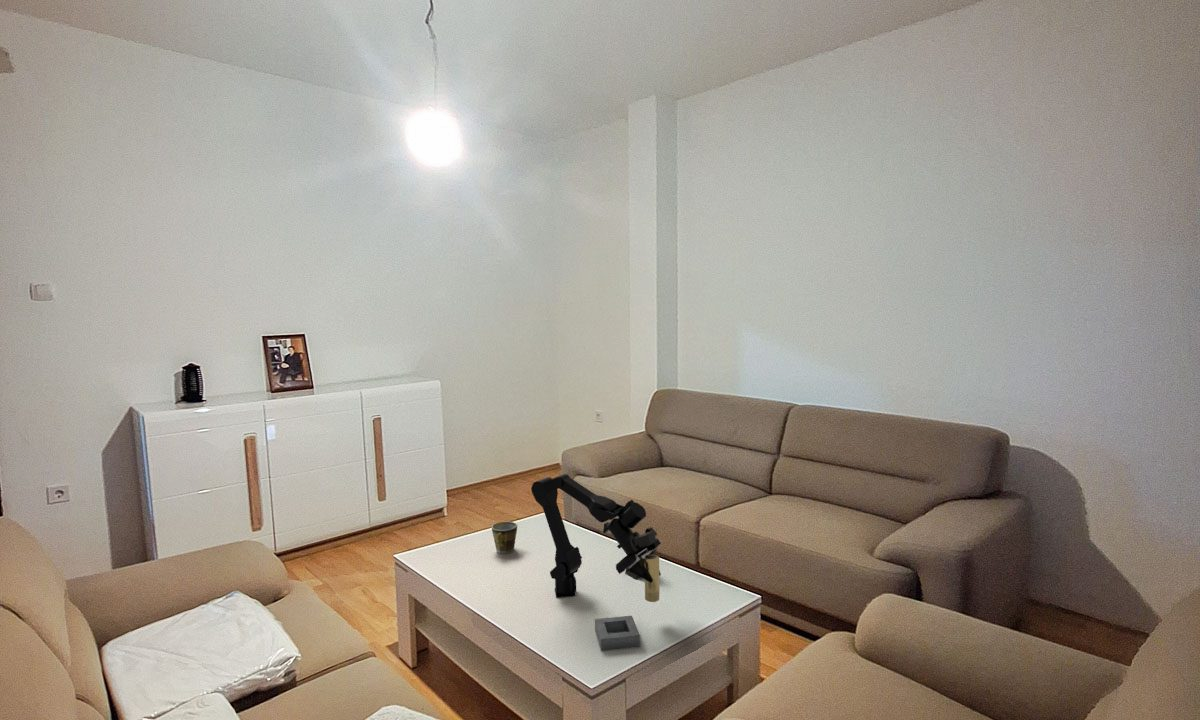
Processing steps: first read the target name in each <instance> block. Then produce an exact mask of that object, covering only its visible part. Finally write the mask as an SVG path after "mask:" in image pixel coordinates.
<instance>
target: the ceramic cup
mask: <svg viewBox="0 0 1200 720" xmlns="http://www.w3.org/2000/svg"><path fill="white" fill-rule="evenodd" d="M491 531H492V537H493V539H494V544H495V550H496V552H498V554H505V555H507V554H511V553H513V551H514V550H515V546H516V545H515V544H516V538H517V533H518V532H517V531H518V523H516V522H514V521H505V520H504V521H498V522H496V523H494V524H492V526H491Z"/></svg>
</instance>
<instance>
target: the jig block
mask: <svg viewBox="0 0 1200 720" xmlns="http://www.w3.org/2000/svg"><path fill="white" fill-rule="evenodd" d="M594 631H595V635H596V638H597V642H598V643H597V644H598V647H599V648H600V652H606V651H615V650H624V649H625V650H626V649H636V648H641V634H640V632H639V629H638V627H637V625H636V622H635V620H634V618H633V615H624V616H623V615H622V616H612V617H602V618H594Z"/></svg>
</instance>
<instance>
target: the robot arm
mask: <svg viewBox="0 0 1200 720" xmlns="http://www.w3.org/2000/svg"><path fill="white" fill-rule="evenodd" d="M558 490H560V491H563V492H564V493H565V494H567V495H568V496H570V497H571V498H573V499H574V500H576V502H579V503H580V504H581V505H583V506H584V507H586V508H587V509H588V511H589V513H590V515H591V516H592V517H593V518H594V519H595V520H597V521H598V522H599V523H604V524H603V529H602V531H603V532H602V533H604V534H606V533H607V532H609V533H610V534H611V535H612V537H613V538H614V539H615V540H616V542H617V543H618V545H617V546H616V547H617V548H618V549H621V548H622V550H623V552H624V553H625V554H626V555H625V556H624V557H623V558H622V559H621V560H619V561H618V562H617V563H616V564H615V570H616V572H618V575H621V574H622V573H623V572H625V571H626V568H627V567H629V569H628V570H627V572H631V573H633V574H635V575H638V576H639V577H641V578H640V579H643V580H644V581H645V580H647V581H648V582H650V583H651V582H652V581H653V579H652V577H651V575H650V574H649V572H648V571H647V569H646V568H645V566H644V565H645V556H646V555H649V554H654V555H657V554H656V552H657V550H658V549H657V548H658V547H659V546H661V544H662V542H661V541H660V540H659V539H658V538H657V535H658V533H657V531H656V530H655V529H654V528H653V527H652V526H650V527H648V528H646V529H644V533H641V534H640V533H639V531H633V530H632V529H634V528H635V527H636V526H638V524H640V523H641V521H643V520H644V519H645V518H646V517H647V512H646V508H644V506H643V505H641V504H640V503H638V502H635V501H634V500H633V499H631V500H628V501H627V502H626V504H625V505H622V504H619V503H617V502H616V501H615V500H613V499H611V498H609V497H606V496H603V495H597V494H596V493H594V492H593V491H592V490H590V489H588V488H587V487H585V486H583V485H582V484H580V483H579V482H578V481H576V480H574V479H573V478H571V476H570V475H569V474H566V473H563V474H560V475H557V476H556V477H553V478H552V477H550V476H546V477H543V478H541V479H538V480H536V481H534V482H532V485H531V494H532V496H533V498H534V500H535V501H536V503H537V504H539V505H540V507H542V509H543V513H544V515H545V519H546V521H547V525H548V527H549V530H550V534H551V538H552V540H553V543H554V546H555V555H554V562H555V566H554V568H552V569H551V570H550V571H549V574H550V578H551V579H553V580H554V594H555V598H567V597H568V598H569V597H575V596H577V595H576V593H577V579H576V577H575V573H577V572H578V571H579V569H580V568H581V565H582V562H583V561H582V559H583V556H582V555H581V552H580V548H579V547H578V546H576V547H575V546H573V545H572V543H571V542H570V539H569V536H568V532H567V530H566V527H565V523H564V521H563V518H562V514H561V512H560V509H559V506H558V501H557V500H558ZM617 517H618V518H617ZM639 552H640V553H639ZM635 554H636V555H635ZM640 557H642V559H639V558H640ZM660 576H662V574H661V571H660V569H659V577H660Z"/></svg>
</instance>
